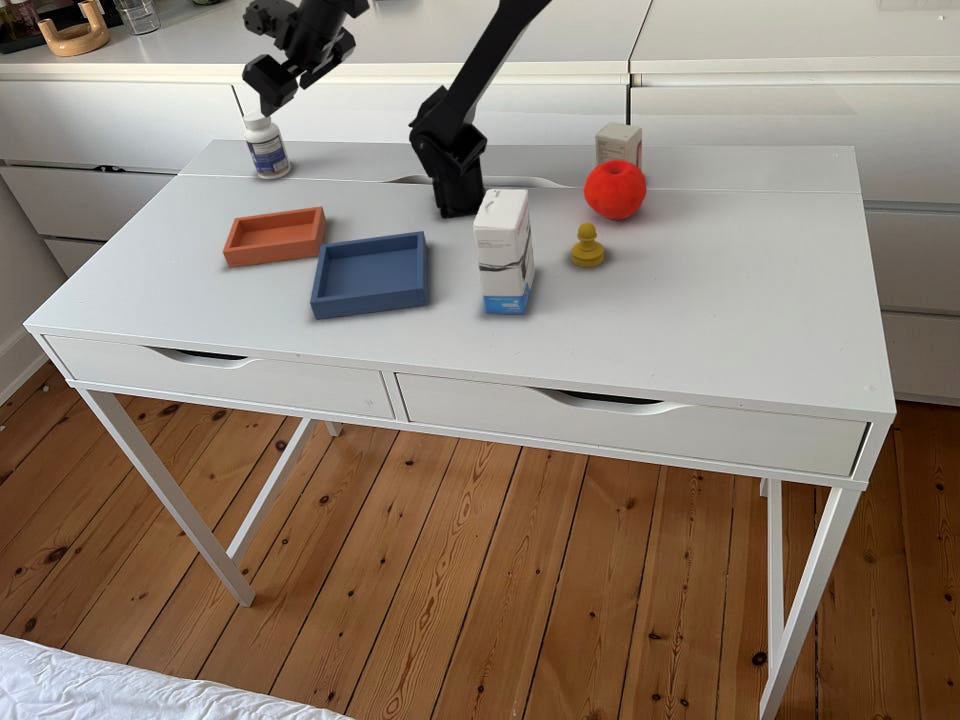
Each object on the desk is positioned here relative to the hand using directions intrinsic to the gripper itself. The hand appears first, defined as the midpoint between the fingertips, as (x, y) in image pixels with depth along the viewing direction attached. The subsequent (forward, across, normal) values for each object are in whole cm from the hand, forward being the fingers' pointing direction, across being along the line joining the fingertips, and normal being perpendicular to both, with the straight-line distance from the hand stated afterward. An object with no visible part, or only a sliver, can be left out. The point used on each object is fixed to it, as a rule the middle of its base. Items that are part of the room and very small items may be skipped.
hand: (283, 100), depth 111 cm
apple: (-21, -2, +46) cm, 50 cm away
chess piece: (-21, +8, +45) cm, 51 cm away
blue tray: (-6, +20, +27) cm, 34 cm away
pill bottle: (+15, -2, +3) cm, 16 cm away
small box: (-20, -10, +44) cm, 49 cm away
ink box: (-17, +17, +40) cm, 47 cm away
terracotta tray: (+6, +16, +13) cm, 22 cm away
